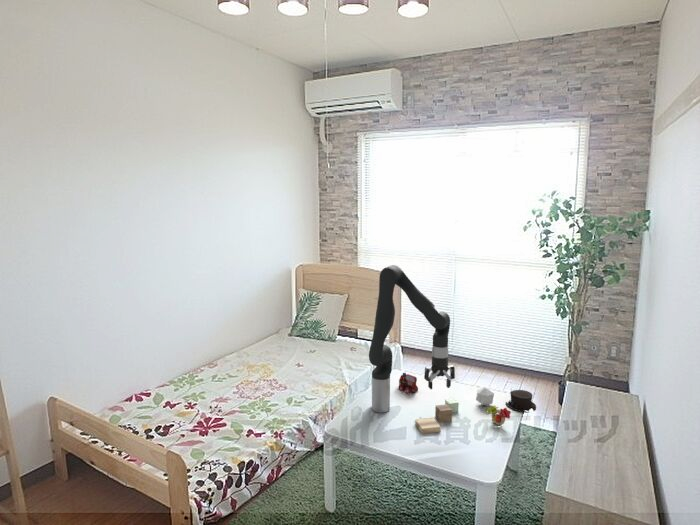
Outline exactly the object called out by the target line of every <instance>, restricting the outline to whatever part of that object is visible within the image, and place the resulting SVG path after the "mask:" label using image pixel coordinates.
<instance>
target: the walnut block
mask: <svg viewBox="0 0 700 525" xmlns="http://www.w3.org/2000/svg"><path fill="white" fill-rule="evenodd" d="M434 409H435V413H434V414H435V416H434V417H435V418H436V419H437V421H438V422H439V423H446V422H447V423H449V422H453V421H452V419H453V413H452V409H451V408H450V407H449V406H448V405H447V404H445V403H444V404H437V405H436V404H435V408H434Z"/></svg>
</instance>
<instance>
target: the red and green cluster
mask: <svg viewBox="0 0 700 525" xmlns="http://www.w3.org/2000/svg"><path fill="white" fill-rule="evenodd" d="M486 412H487V413H486V415H489V414H490V413H491V421H492V422H493V423H494V424H496V425H497V426H502V425H504V424H505V422H506V419H510V418H511V414H512V411H511V410H508V409H507V407H504V408H500V409H499V406H496V405H490V407H488V408H486Z"/></svg>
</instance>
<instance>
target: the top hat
mask: <svg viewBox="0 0 700 525" xmlns="http://www.w3.org/2000/svg"><path fill="white" fill-rule="evenodd" d="M509 393H510V400H509V401H508V402H507V401H505V405H506V407H508V408H510V409H512V410H515V411H517V412H520V413H527V414H528V413H530V410H531V409H532V410H533V412H535V411H536V410H537V405H536V403H534V402H533V401H532V399H533V393H531V392H530V391H528V390H525V389H524V390H523V389H514V390H510V392H509Z"/></svg>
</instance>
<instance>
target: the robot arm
mask: <svg viewBox="0 0 700 525" xmlns="http://www.w3.org/2000/svg"><path fill="white" fill-rule="evenodd" d="M409 278H410V277H408V275H406V273H405V272H404V271H403V269H402V268H401V267H399V266H398V265H396V264H395V265H394V264H392V265H389V266H386V267H384V268H383V269H381V271H380V273H379V280H378V282H379V283H378V284H379V285H378V298H377V305H376V313H375V319H374V320H375V321H374V327H373V332H372V333H373V334H372V338H371V342H370V347H369V351H368V360H369V363H370V364H371V365H372V366H374V368H373V370H372V371H371V410H372V411H373V412H375V413H380V414H381V413H388V412H389V411H390V408H391V403H390V402H391V374H392V371H393V370H392V369H393V351H392V349H391V347H390V346H389V345H387V344H385V341H386V339H387V336H388V335H389V333H390V332H391V330H392V328H393V326H394V323H395V314H396V308H395V303H394V292H395V286H397V287H399V289H401V290H402V291H403V292H404V293H405V295H406V296H407V298H408V299H409V301H410V303H411V305H413V306H414V308H416V309H417V310H418V311H419V312H420V313H421V314H422V315H423V316H424V317H425V320H427V322H428V324H430V325H431V326H432V327H433V328H434V330H435V331H434V333H433V335H432V347H431V348H432V349H431V367H428V366H425V368H424V380H425V381H426V382H428V383H427V385H428V386H427V387H428V388H429V390H433V380H435V379H436V378H439V377H444V376H445V378H446V384H445V385H446V387H447V388H448V389H450V388H451V385H452V384H451V383H452V381H451V380H454V379H455V378H456V374H455V373H456V370H455V366H454V365H453V364H450V365H449V333H450V326H451V317H450V315H449V314H448V313H447V312H445V311H438V310H437V309H436V308H435V306H436V305H435V304H434V303H433V302H432V301H431V300H430V299H429V298H428V297H427V296H425V294H424V293H423V292H421V290H420V289H419V288H417V286H416V285H415V284H414V283H413V282H412V281H411V280H410V279H409ZM448 371H449V372H450V375H449V374H448ZM430 372H431V373H430Z"/></svg>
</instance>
